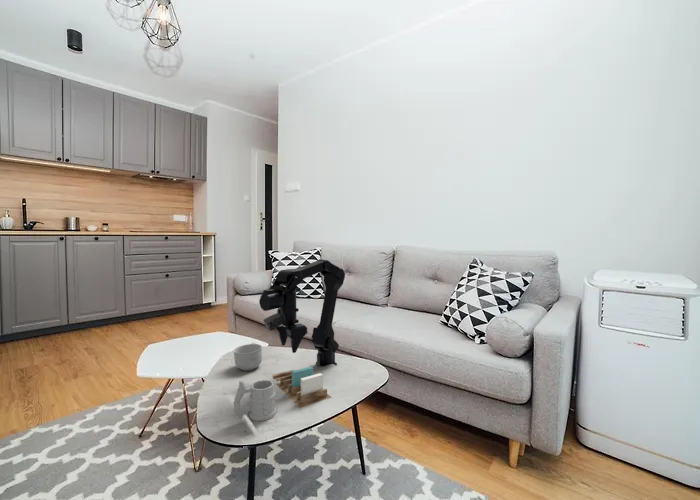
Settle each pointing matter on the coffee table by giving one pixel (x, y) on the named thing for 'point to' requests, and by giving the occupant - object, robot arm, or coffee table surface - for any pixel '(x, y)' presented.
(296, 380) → the teal rectangular prism
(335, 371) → the coffee table surface
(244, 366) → the teacup
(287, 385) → the rack
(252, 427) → the coffee table surface
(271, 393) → the mug
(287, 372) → the wooden slats
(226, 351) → the coffee table surface
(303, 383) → the cream plate
